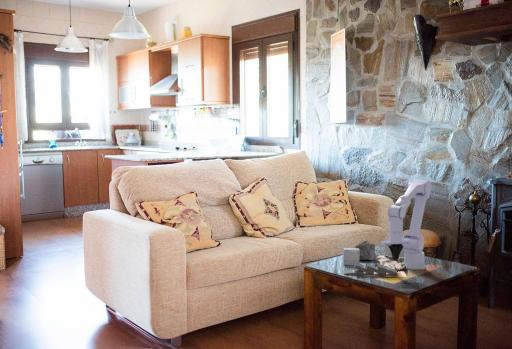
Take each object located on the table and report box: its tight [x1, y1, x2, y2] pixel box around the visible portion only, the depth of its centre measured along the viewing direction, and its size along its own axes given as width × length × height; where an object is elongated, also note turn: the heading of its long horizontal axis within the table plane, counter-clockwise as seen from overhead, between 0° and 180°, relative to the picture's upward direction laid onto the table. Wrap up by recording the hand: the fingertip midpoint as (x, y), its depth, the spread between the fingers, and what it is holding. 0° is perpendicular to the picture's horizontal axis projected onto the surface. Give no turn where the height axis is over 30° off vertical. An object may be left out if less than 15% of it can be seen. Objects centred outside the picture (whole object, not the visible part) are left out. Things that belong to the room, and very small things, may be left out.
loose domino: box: [376, 263, 398, 276], centre depth 244 cm, size 2×5×9 cm
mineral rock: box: [353, 240, 377, 261], centre depth 276 cm, size 13×11×10 cm
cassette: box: [384, 246, 404, 257], centre depth 279 cm, size 12×2×8 cm, turn 63°
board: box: [361, 270, 408, 278], centre depth 246 cm, size 20×9×1 cm, turn 84°
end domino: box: [342, 268, 364, 276], centre depth 246 cm, size 2×5×9 cm
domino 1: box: [353, 262, 374, 275], centre depth 246 cm, size 2×5×9 cm
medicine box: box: [342, 247, 360, 266], centre depth 263 cm, size 8×4×9 cm, turn 84°
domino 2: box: [365, 263, 386, 277], centre depth 245 cm, size 2×5×9 cm
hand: (395, 260), depth 244 cm, fingers closed
